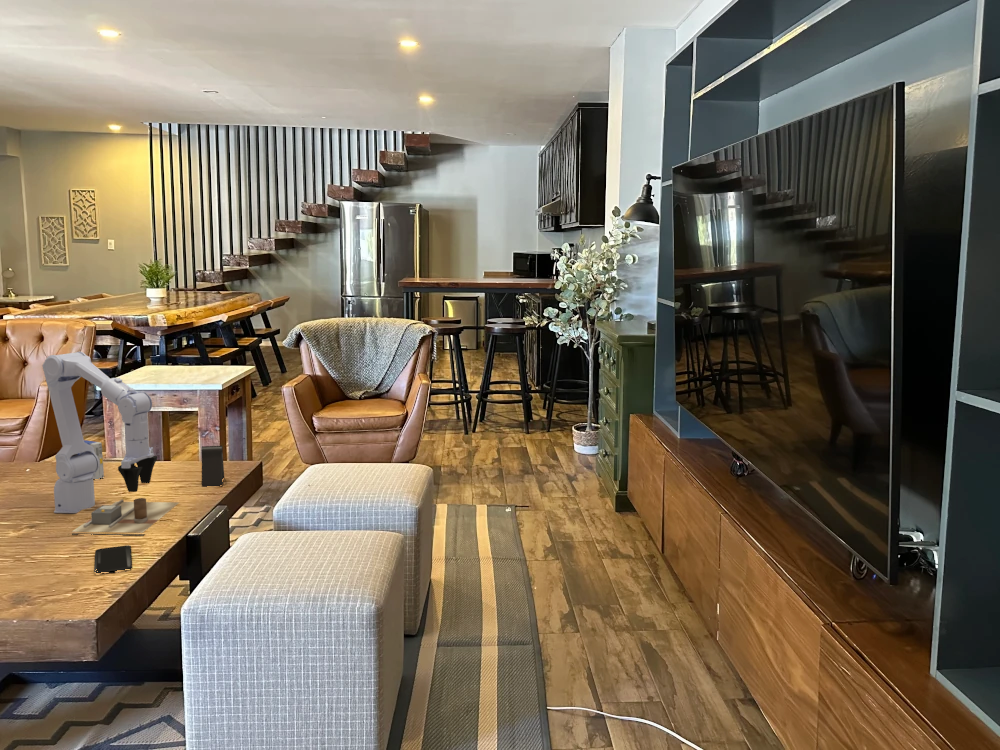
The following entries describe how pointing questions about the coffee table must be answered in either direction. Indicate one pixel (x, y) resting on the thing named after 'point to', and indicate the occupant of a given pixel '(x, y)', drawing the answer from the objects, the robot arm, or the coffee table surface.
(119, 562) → the phone
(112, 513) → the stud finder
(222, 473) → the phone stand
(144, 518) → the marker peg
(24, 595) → the coffee table surface
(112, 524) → the cream ridged tray
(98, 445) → the walkman
